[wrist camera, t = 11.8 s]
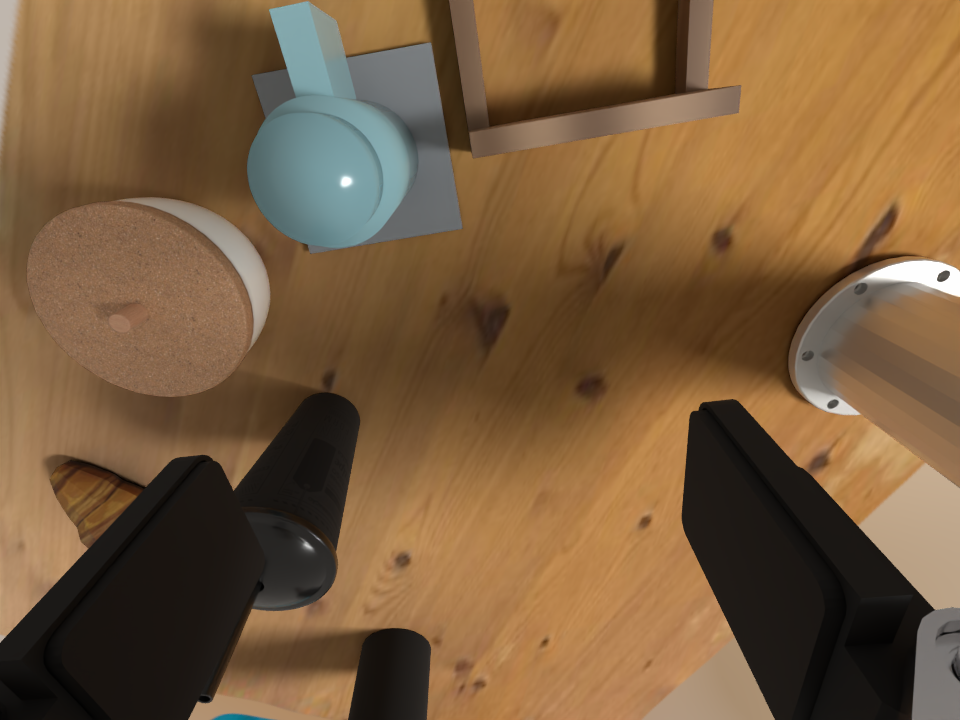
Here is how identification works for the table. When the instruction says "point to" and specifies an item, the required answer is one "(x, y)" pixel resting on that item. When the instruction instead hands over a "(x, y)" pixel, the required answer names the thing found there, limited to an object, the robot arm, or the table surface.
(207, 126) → the table surface
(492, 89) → the table surface
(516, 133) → the cradle
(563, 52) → the table surface
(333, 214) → the jug
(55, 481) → the croissant
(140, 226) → the lidded jar
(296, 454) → the drinking cup
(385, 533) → the table surface
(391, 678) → the wine bottle
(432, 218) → the coaster
